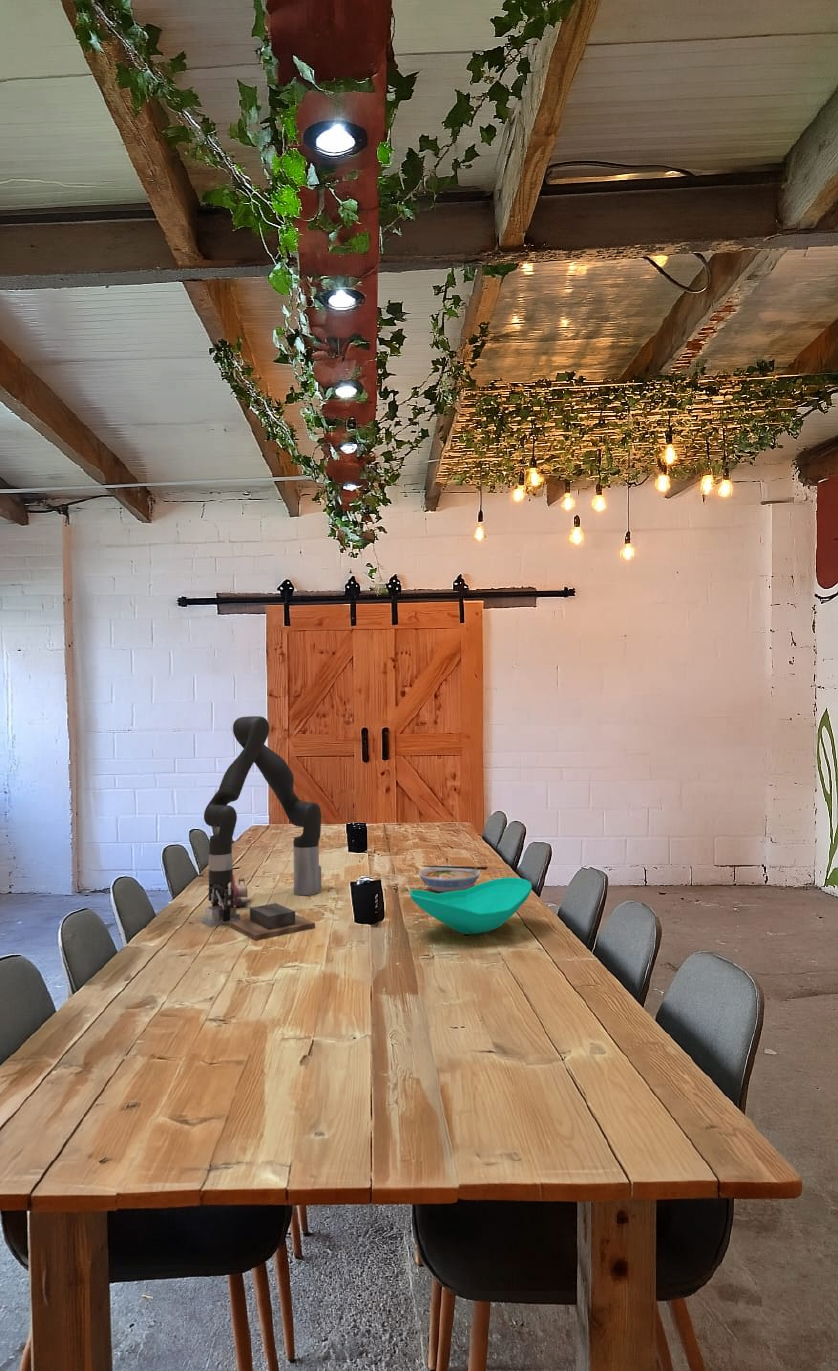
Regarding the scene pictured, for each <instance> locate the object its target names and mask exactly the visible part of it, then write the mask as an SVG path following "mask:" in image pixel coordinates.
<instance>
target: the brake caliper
mask: <svg viewBox="0 0 838 1371" xmlns="http://www.w3.org/2000/svg"><path fill="white" fill-rule="evenodd" d="M245 880H246V879H245V876H243V877H241V876H238V884H236V879H235V875H234V874H233V881H232V882H230V887H229V889H233V900H234V905H235V906H236V911H240V910H250V908H251V906H250V907H249V906H248V907H247V905H248V903H250V902H251V901H252V898H250V897H248V893H249V892H248V886H247V885H246V884H245ZM230 903H231V901H230ZM224 904H225V903H224ZM220 905H222V904H220Z"/></svg>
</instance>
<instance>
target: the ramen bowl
mask: <svg viewBox="0 0 838 1371" xmlns="http://www.w3.org/2000/svg"><path fill="white" fill-rule="evenodd" d="M423 867H425V868H421V869H419V870H418V874H419V877H420V879H421V880H422V882H423V883H424V884H425V885H426V887H428V888H430V889H431V890H433V891H436V892H439V893H445V892H452V891H460V890H466V889H469V888H471V887H473V886H474V884H475V883H476V882H477V880H478V879H479V878H480V875H481V871H482V870H484V871H486V870H488V866H470V865H469V866H465V865H423Z"/></svg>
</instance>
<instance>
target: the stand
mask: <svg viewBox="0 0 838 1371" xmlns="http://www.w3.org/2000/svg"><path fill="white" fill-rule="evenodd" d="M229 927H230V928H231V929H233V930H235V931H236V932H238V933H241V934H242V935H245V936H246V937H248V938H251V939H252V940H254V941H259V940H264V939H269V938H273V937H279V936H283V935H287V934H292V933H296V932H301V931H306V930H310V929H311V930H312V929H315V928H316V923H315V922H314V921H311V920H309V919H307V918H305V917H303V916H300V915H297V914H296V911H295V910H293V909H291V908H288V907H286V906H284V905H281V904H278V903H276V902H274V903H269V904H263V905H256V906H253V907H250V908H249V918H245V919H240V920H239V921H234V922H230V923H229Z"/></svg>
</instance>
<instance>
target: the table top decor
mask: <svg viewBox="0 0 838 1371" xmlns="http://www.w3.org/2000/svg"><path fill="white" fill-rule="evenodd" d="M532 889H533V885H532V882H531V881H528V880H527V879H526V878H525V879H524V878H520V877H510V876H509V877H508V876H507V877H501V878H494V879H491V880H488V881H484V882H481V883H478V884H476V885H473V886H471V887H470V888H468V889H466V890H460V891H452V892H445V893H440V892H439V893H437V892H431V891H428V890H424V889H423V890H422V889H411V890H410V891H409V895H410V898H411V900H412V901H413V902H414V903H415V904H416V905H417V907H419V908H420V909H421V910H422V911H424V912H425V913H427V914H428V915H430V916H431V917H432V918H434V919H436V920H437V921H439V922H441V923H442V924H444V925H445V926H448V928H451V929H453V930H454V931H456V932H457V933H460V934H465V935H478V934H483V933H486V932H491V931H493V930H496V929H498V928H500V927H501V926H502V925H503V924H504V923H506V922H507V921H508V920H509V919H510V918H511V917H512V916H513V915H515V913H517V911H518V910H519V909H520V907H521V906H522V905H523V904H524V903H525V902H526V901H527V899H528V897H529V896H530V894H531V892H532Z"/></svg>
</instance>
